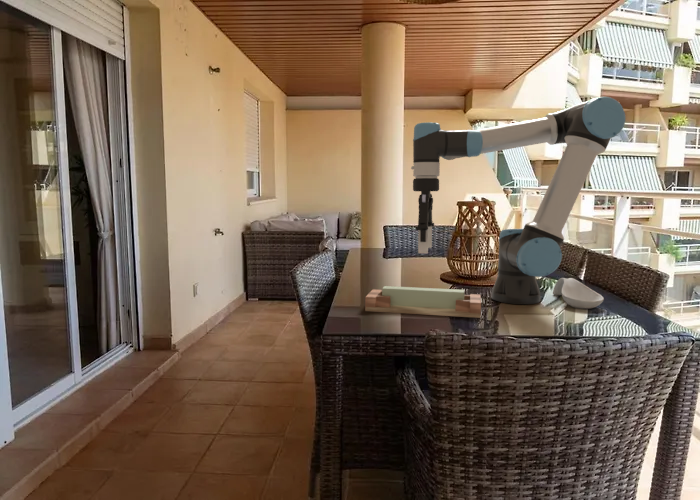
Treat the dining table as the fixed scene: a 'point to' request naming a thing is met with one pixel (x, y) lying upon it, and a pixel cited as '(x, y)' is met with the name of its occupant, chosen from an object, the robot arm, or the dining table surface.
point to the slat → (423, 297)
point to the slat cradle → (463, 307)
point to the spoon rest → (577, 294)
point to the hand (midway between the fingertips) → (425, 250)
